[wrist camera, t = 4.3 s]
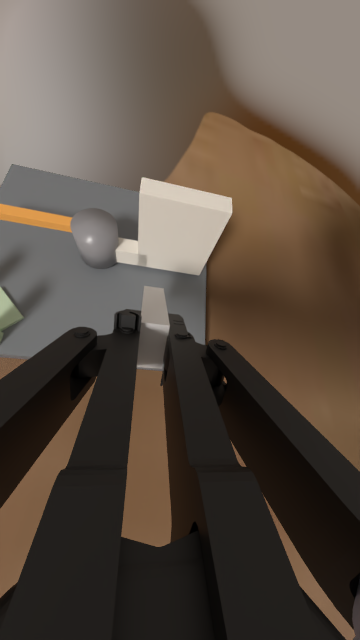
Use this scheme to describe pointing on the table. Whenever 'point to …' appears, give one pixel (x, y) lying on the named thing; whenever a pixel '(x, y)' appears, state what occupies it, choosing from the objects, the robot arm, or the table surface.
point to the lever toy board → (75, 267)
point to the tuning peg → (144, 228)
